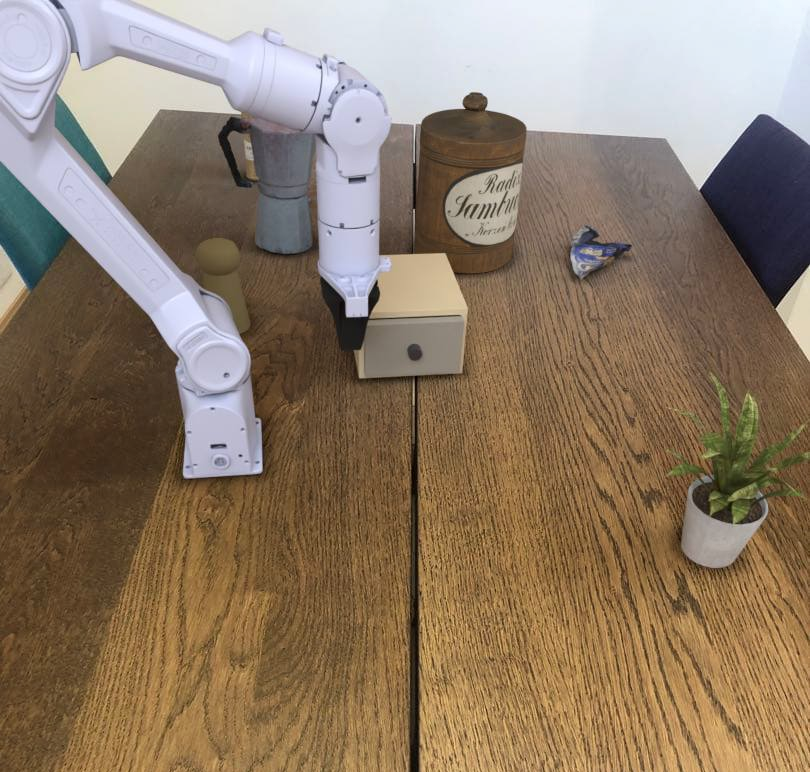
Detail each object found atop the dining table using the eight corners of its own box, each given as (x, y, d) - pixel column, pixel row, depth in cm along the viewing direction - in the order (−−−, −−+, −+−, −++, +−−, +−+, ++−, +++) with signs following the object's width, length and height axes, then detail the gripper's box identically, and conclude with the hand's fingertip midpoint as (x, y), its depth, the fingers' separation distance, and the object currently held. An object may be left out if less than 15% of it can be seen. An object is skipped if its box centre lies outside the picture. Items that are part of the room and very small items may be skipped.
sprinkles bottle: (251, 183, 141) (243, 98, 132) (242, 174, 144) (234, 90, 135) (276, 179, 143) (270, 95, 134) (267, 170, 146) (260, 87, 137)
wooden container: (459, 284, 116) (473, 117, 101) (394, 247, 124) (398, 88, 109) (532, 257, 123) (555, 98, 108) (466, 225, 132) (478, 72, 116)
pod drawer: (461, 377, 97) (466, 326, 92) (366, 382, 95) (366, 330, 91) (440, 317, 107) (443, 267, 103) (353, 320, 106) (353, 271, 101)
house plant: (595, 510, 82) (631, 368, 70) (710, 482, 85) (762, 343, 74) (677, 611, 72) (734, 466, 61) (803, 575, 76) (879, 431, 65)
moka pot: (340, 250, 123) (337, 106, 109) (239, 264, 119) (223, 115, 105) (321, 225, 129) (316, 86, 116) (225, 238, 125) (207, 94, 111)
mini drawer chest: (462, 373, 99) (468, 308, 93) (359, 378, 98) (358, 312, 92) (441, 314, 110) (445, 252, 104) (347, 318, 108) (346, 256, 102)
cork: (241, 339, 103) (231, 255, 96) (196, 333, 104) (182, 249, 97) (257, 316, 108) (248, 234, 100) (213, 311, 108) (202, 229, 101)
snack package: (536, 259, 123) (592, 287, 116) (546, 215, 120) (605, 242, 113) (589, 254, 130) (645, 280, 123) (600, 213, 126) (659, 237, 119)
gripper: (402, 248, 71) (398, 383, 80) (381, 186, 81) (380, 311, 90) (321, 251, 70) (326, 387, 79) (310, 187, 80) (316, 314, 90)
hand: (350, 347), depth 85 cm, fingers closed
